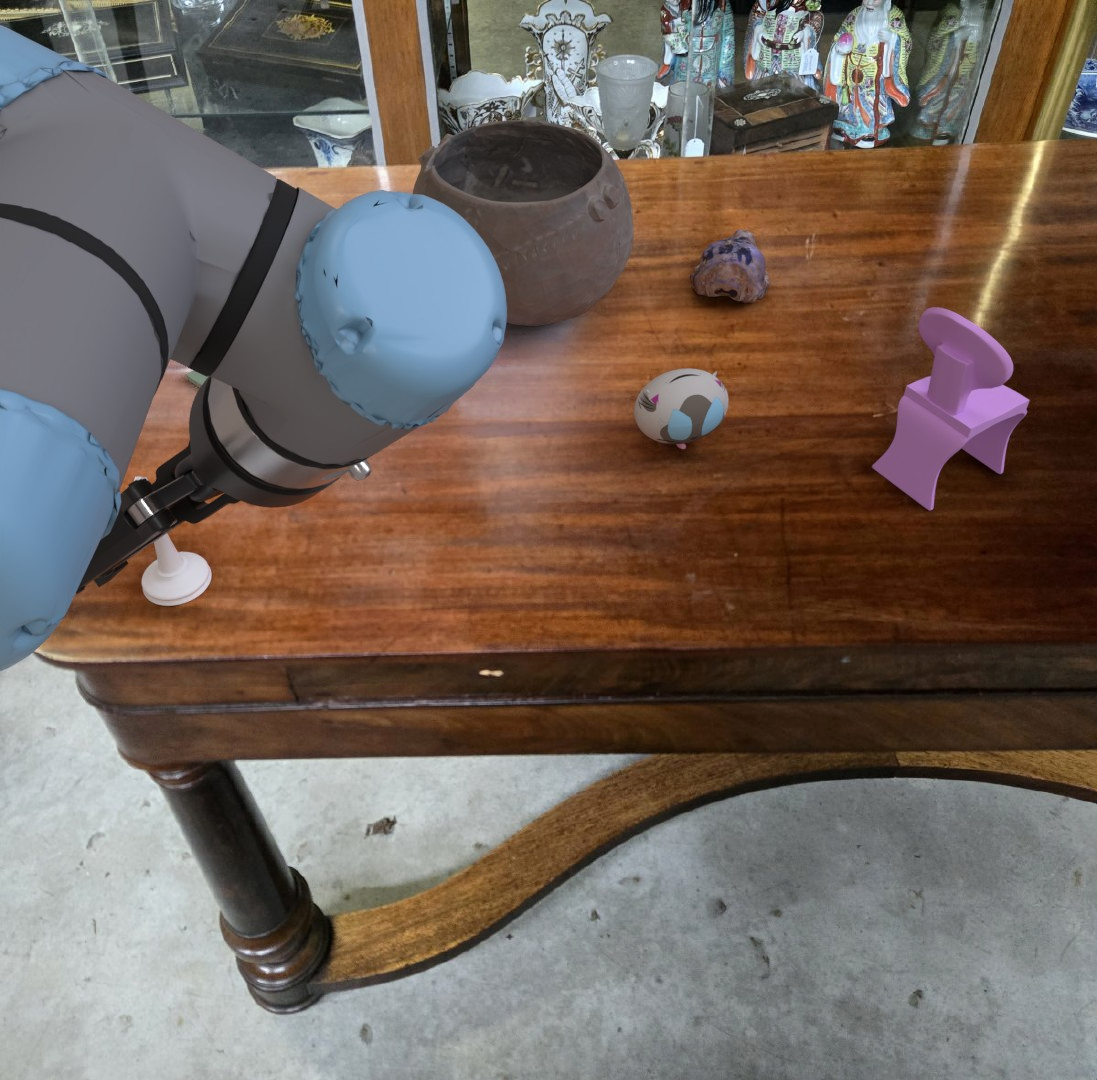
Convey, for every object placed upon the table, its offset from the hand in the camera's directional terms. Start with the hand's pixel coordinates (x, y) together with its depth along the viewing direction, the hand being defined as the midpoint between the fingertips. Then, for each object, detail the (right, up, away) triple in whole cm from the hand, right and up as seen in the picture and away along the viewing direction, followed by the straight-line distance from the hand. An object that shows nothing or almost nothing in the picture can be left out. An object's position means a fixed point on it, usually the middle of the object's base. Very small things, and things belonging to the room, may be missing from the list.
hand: (187, 507), depth 66 cm
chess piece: (-5, -5, +11) cm, 13 cm away
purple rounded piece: (+41, +24, +39) cm, 62 cm away
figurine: (+34, +6, +21) cm, 40 cm away
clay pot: (+20, +22, +38) cm, 48 cm away
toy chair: (+54, +3, +19) cm, 58 cm away
